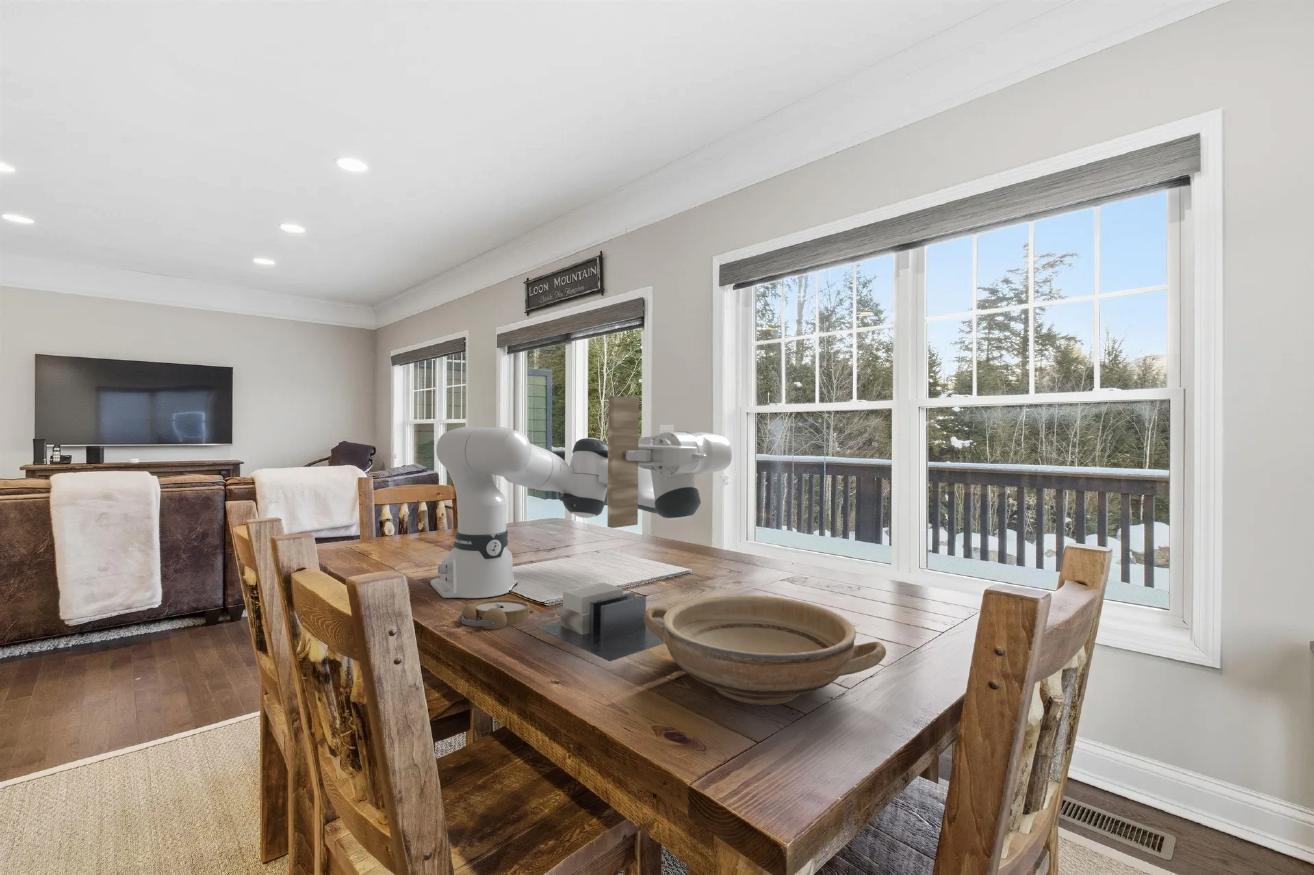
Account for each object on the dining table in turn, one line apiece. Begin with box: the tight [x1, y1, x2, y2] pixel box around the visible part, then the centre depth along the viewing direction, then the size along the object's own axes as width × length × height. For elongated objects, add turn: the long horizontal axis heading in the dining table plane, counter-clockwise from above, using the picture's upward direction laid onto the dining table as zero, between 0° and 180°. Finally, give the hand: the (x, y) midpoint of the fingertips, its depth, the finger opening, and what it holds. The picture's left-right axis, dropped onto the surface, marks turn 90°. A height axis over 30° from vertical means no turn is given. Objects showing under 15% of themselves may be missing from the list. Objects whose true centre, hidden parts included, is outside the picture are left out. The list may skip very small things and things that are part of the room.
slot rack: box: [536, 592, 666, 662], centre depth 111 cm, size 22×20×7 cm
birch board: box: [607, 395, 640, 529], centre depth 110 cm, size 2×6×24 cm, turn 133°
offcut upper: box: [562, 582, 624, 614], centre depth 115 cm, size 6×10×3 cm, turn 133°
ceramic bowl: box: [644, 594, 887, 706], centre depth 89 cm, size 37×29×10 cm
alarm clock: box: [458, 599, 535, 630], centre depth 116 cm, size 11×5×15 cm
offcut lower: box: [560, 606, 590, 635], centre depth 115 cm, size 7×12×4 cm, turn 133°
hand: (619, 455), depth 109 cm, fingers closed on birch board, 2 cm apart
